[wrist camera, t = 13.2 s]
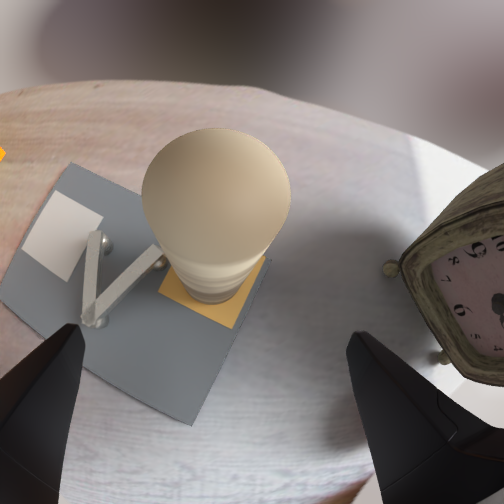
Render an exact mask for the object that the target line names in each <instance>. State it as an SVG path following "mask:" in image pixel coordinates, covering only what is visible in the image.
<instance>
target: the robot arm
mask: <svg viewBox="0 0 504 504" xmlns="http://www.w3.org/2000/svg"><path fill="white" fill-rule="evenodd" d="M85 346H86V345H85V340H84V337H83V334H82V331H81V329H80V326H79V325H78V324H75V323H66V324H65V325H63V326H62V327H61V328H60V329H59V330H57V331H56V332H55V333H54V334H52V335H51V336H50V337H49V338H48V339H46V340H45V341H44V342H43V343H42V344H40V345H39V346H38V347H37V348H36V349H34V350H33V351H32V352H31V353H30V354H28V355H27V356H26V357H25V358H24V359H23V360H21V361H20V362H19V363H18V364H17V365H16V366H15V367H13V368H12V369H11V370H10V371H9V372H8V373H7V374H5V375H4V376H3V377H2V378H1V379H0V504H58V499H59V489H60V481H61V474H62V467H63V461H64V455H65V449H66V443H67V438H68V433H69V428H70V423H71V419H72V414H73V410H74V406H75V402H76V397H77V393H78V389H79V384H80V377H81V371H82V365H83V359H84V353H85ZM346 356H347V361H348V366H349V371H350V377H351V382H352V387H353V392H354V396H355V399H356V403H357V406H358V409H359V413H360V416H361V420H362V423H363V427H364V430H365V434H366V437H367V441H368V445H369V448H370V452H371V456H372V460H373V464H374V467H375V471H376V475H377V479H378V483H379V487H380V491H381V496H382V501H383V504H504V429H503V428H496V427H493V426H491V425H489V424H487V423H485V422H484V421H482V420H481V419H479V418H478V417H476V416H475V415H473V414H472V413H470V412H469V411H467V410H466V409H464V408H463V407H461V406H460V405H459V404H457V403H456V402H454V401H453V400H452V399H451V398H449V397H448V396H447V395H445V394H444V393H443V392H442V391H440V390H439V389H437V387H435V386H434V385H433V384H432V383H430V382H429V381H428V380H427V379H425V378H424V377H423V376H422V375H420V374H419V373H418V372H417V371H415V370H414V369H413V368H412V367H411V366H409V365H408V364H407V363H406V362H404V361H403V360H402V359H401V358H399V357H398V356H397V355H396V354H394V353H393V352H392V351H391V350H389V349H388V348H387V347H386V346H384V345H383V344H382V343H381V342H379V341H378V340H377V339H375V338H374V337H373V336H372V335H370V334H369V333H368V332H367V331H355V332H354V333H353V334H352V336H351V339H350V341H349V343H348V346H347V349H346Z"/></svg>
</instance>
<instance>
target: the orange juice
mask: <svg viewBox="0 0 504 504" xmlns="http://www.w3.org/2000/svg"><path fill="white" fill-rule="evenodd" d="M4 155H5V152H4V151H3V150H2V148H1V147H0V161H1V159H2V158H3V156H4Z"/></svg>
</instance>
